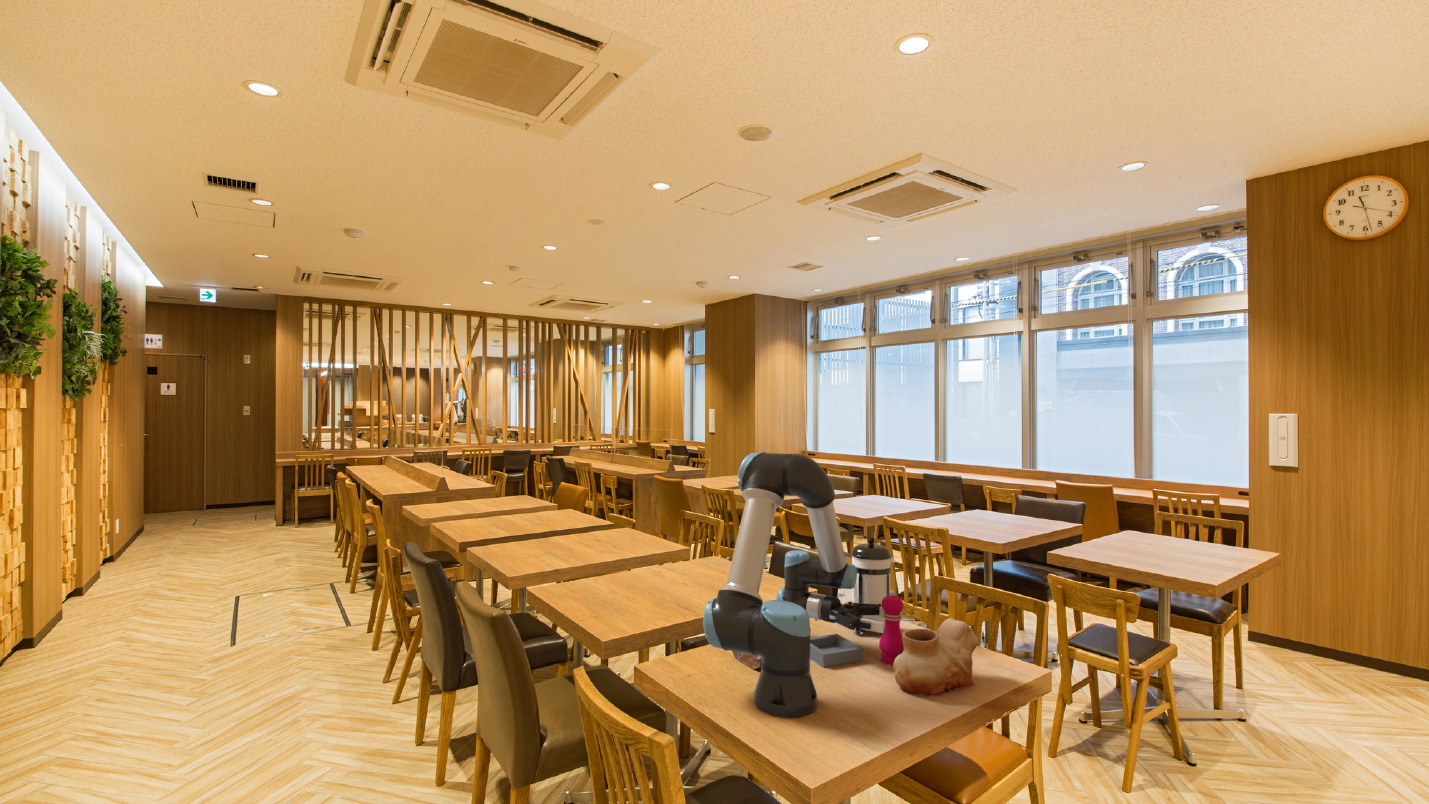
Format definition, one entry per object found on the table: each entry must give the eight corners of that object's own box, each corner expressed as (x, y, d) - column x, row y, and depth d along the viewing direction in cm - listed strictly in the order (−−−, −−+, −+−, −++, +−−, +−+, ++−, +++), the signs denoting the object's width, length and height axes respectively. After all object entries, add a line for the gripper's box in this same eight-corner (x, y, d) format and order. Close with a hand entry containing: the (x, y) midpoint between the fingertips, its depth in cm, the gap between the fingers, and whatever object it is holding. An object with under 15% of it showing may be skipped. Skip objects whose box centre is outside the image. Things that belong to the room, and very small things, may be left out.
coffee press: (863, 619, 222) (863, 530, 222) (904, 631, 210) (904, 537, 210) (830, 630, 211) (830, 536, 211) (871, 643, 198) (871, 544, 199)
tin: (730, 655, 188) (730, 626, 188) (739, 653, 190) (739, 624, 190) (759, 674, 175) (760, 642, 175) (769, 671, 177) (769, 640, 177)
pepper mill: (903, 657, 188) (903, 587, 188) (907, 666, 181) (908, 594, 181) (877, 656, 188) (877, 586, 189) (881, 665, 181) (881, 593, 182)
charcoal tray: (823, 667, 180) (823, 654, 180) (799, 651, 192) (799, 639, 192) (862, 660, 185) (862, 648, 185) (836, 645, 197) (836, 633, 197)
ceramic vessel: (993, 682, 171) (993, 624, 171) (921, 703, 158) (921, 641, 158) (950, 664, 183) (950, 610, 183) (880, 682, 170) (880, 624, 170)
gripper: (842, 610, 208) (908, 623, 195) (804, 631, 188) (875, 647, 175) (842, 586, 208) (908, 598, 195) (804, 605, 188) (875, 619, 175)
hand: (892, 621), depth 185 cm, fingers open, 13 cm apart
